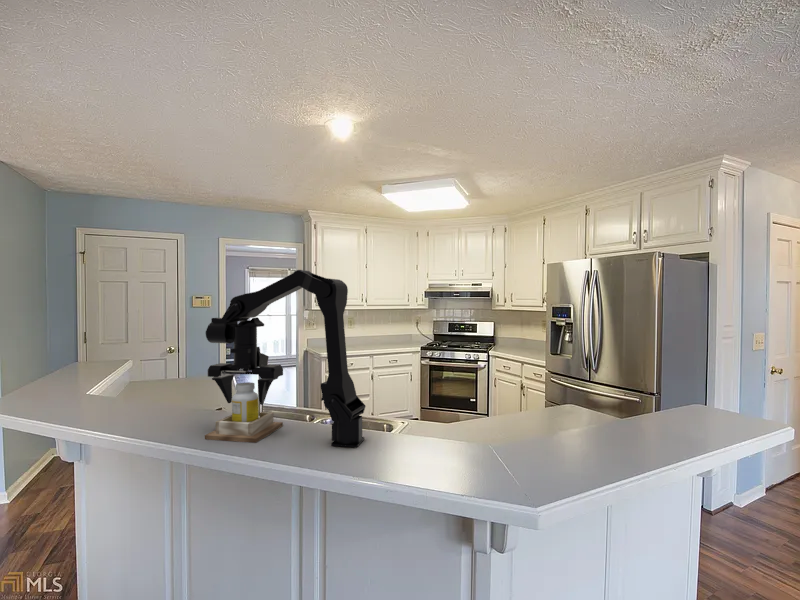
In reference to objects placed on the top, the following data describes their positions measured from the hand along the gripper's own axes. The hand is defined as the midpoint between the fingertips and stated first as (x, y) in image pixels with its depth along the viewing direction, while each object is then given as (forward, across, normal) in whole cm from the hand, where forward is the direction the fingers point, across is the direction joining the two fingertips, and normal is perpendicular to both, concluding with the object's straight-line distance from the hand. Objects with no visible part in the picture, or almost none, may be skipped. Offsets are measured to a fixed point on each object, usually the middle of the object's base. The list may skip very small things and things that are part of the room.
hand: (245, 403), depth 112 cm
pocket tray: (+8, 0, 0) cm, 8 cm away
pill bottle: (+7, 0, 0) cm, 7 cm away
